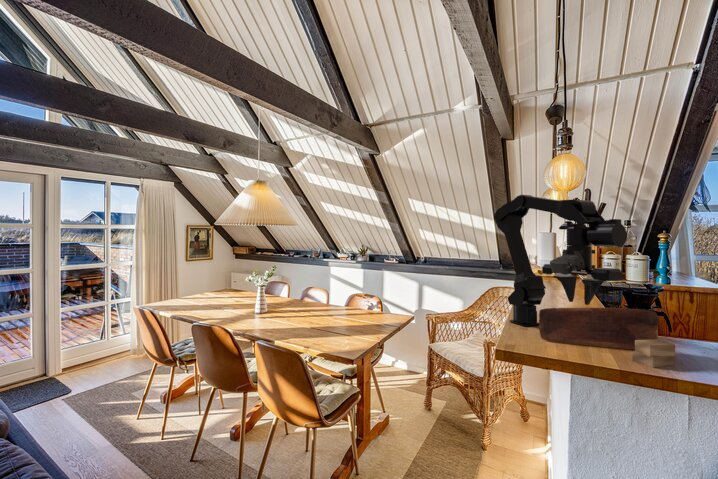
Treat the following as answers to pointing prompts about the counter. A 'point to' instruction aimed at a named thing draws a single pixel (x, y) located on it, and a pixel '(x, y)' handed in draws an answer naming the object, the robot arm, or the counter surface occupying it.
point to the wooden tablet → (598, 326)
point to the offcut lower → (653, 360)
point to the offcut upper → (655, 347)
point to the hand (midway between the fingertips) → (578, 303)
